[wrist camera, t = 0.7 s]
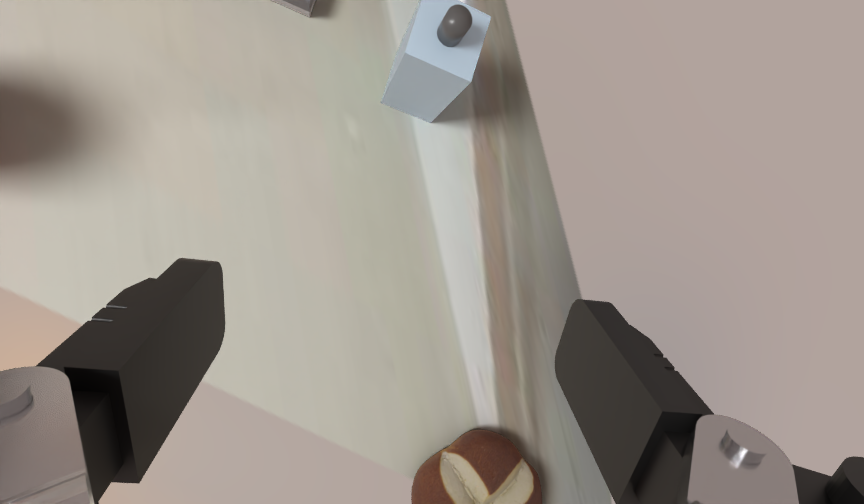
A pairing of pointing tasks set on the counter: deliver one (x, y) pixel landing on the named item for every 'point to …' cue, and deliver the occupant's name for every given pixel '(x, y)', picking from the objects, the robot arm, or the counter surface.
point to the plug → (435, 57)
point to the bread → (477, 473)
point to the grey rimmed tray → (298, 5)
